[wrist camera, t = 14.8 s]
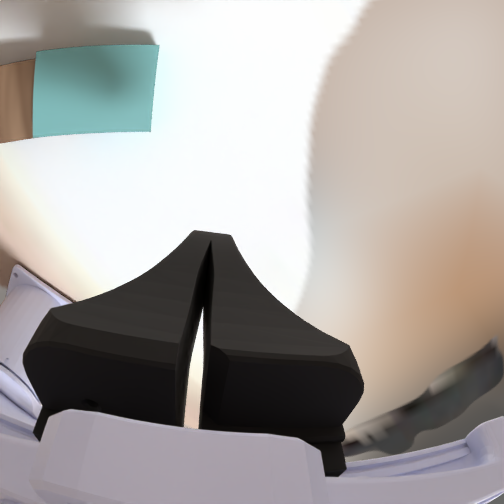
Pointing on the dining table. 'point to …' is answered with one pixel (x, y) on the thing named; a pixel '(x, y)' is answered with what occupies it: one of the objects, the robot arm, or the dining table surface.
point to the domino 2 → (94, 89)
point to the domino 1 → (16, 101)
